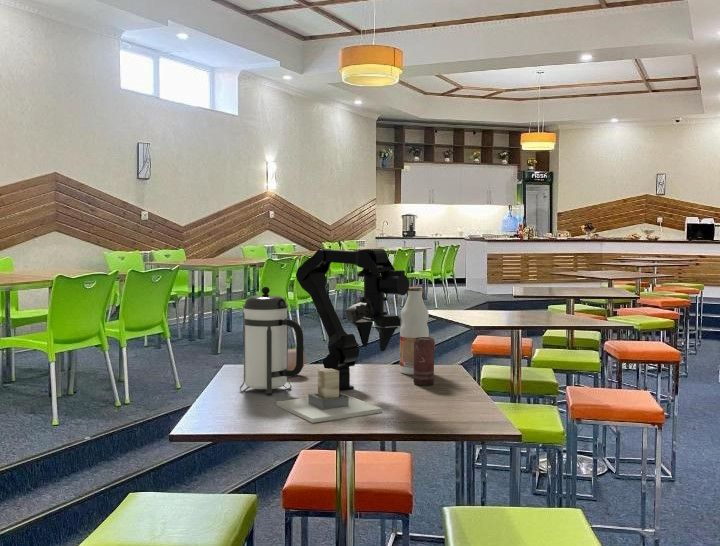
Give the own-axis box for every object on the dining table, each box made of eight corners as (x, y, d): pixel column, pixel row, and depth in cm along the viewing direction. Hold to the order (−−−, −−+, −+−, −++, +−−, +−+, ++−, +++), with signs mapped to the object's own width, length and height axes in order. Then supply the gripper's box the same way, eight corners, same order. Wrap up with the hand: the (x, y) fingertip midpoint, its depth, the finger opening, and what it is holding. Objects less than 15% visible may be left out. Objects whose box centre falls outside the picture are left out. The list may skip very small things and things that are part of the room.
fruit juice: (410, 376, 226) (411, 288, 224) (394, 371, 234) (394, 286, 232) (434, 373, 231) (435, 287, 229) (417, 368, 239) (418, 285, 237)
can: (433, 386, 211) (434, 339, 210) (412, 385, 212) (412, 339, 211) (435, 382, 217) (436, 336, 216) (414, 381, 218) (415, 336, 217)
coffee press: (240, 398, 194) (240, 289, 193) (238, 385, 210) (238, 284, 208) (303, 395, 198) (303, 288, 196) (296, 383, 213) (297, 284, 212)
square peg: (317, 404, 184) (317, 369, 183) (331, 402, 186) (331, 368, 185) (325, 407, 180) (325, 372, 180) (338, 405, 182) (339, 370, 182)
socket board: (276, 405, 186) (276, 401, 186) (342, 396, 197) (342, 393, 197) (312, 422, 169) (312, 418, 169) (381, 412, 180) (382, 408, 180)
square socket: (308, 403, 184) (308, 394, 184) (333, 400, 188) (333, 390, 188) (322, 409, 178) (322, 400, 178) (348, 406, 182) (348, 396, 182)
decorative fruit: (284, 379, 219) (284, 347, 219) (273, 375, 226) (273, 344, 226) (311, 376, 224) (311, 345, 224) (299, 372, 231) (299, 341, 231)
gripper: (332, 292, 202) (332, 346, 203) (367, 297, 186) (367, 356, 187) (365, 290, 208) (365, 343, 209) (402, 295, 192) (401, 352, 193)
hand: (373, 348), depth 199 cm, fingers open, 9 cm apart
